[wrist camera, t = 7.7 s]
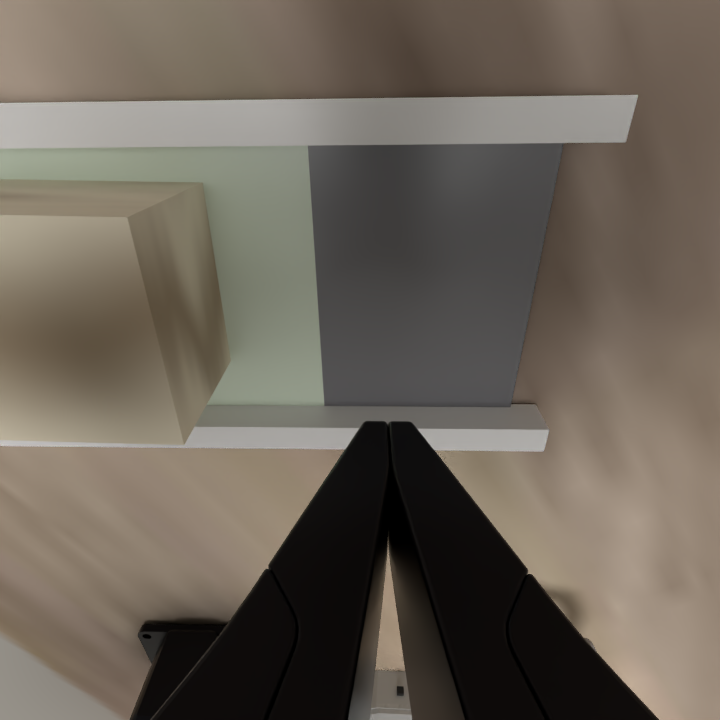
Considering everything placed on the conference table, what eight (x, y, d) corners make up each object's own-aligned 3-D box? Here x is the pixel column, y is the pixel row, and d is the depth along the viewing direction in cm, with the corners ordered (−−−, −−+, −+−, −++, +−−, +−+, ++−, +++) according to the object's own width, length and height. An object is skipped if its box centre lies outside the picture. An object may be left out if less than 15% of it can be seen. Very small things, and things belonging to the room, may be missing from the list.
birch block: (231, 360, 16) (184, 445, 12) (65, 356, 16) (-34, 439, 12) (202, 182, 13) (126, 217, 9) (-2, 179, 13) (-165, 212, 9)
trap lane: (530, 425, 17) (543, 451, 16) (-116, 419, 18) (-153, 444, 17) (608, 95, 12) (638, 94, 10) (-335, 108, 12) (-419, 108, 11)
